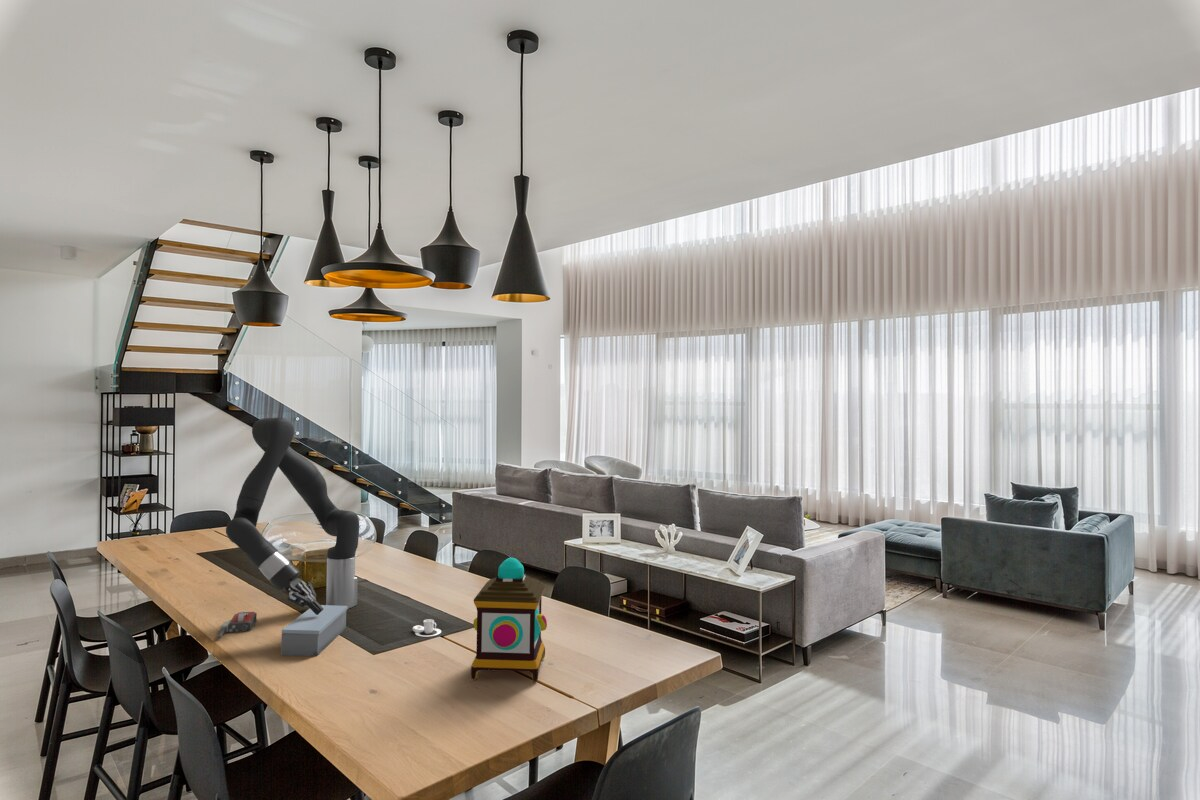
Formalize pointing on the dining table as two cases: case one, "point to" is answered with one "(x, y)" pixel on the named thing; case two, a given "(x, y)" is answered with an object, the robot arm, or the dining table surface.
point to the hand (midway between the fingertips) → (320, 612)
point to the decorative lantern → (509, 622)
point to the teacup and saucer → (426, 628)
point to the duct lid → (315, 620)
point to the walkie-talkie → (239, 623)
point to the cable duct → (312, 640)
